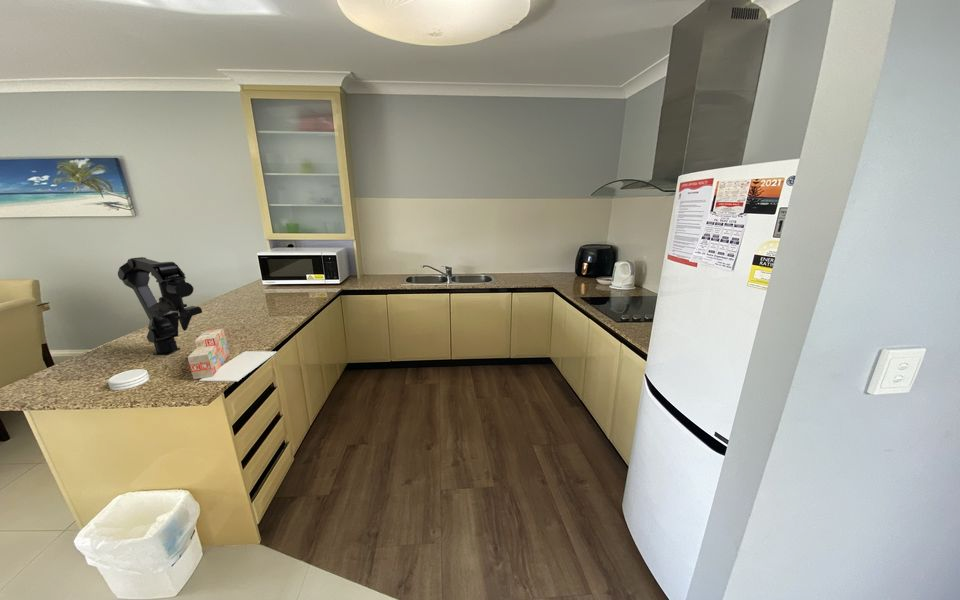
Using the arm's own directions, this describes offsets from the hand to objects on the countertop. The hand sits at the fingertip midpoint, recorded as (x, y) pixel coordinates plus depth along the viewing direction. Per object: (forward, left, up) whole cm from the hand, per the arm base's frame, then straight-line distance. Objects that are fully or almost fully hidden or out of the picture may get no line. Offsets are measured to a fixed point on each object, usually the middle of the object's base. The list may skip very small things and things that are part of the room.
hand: (180, 329), depth 133 cm
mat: (+26, -6, -13) cm, 30 cm away
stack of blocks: (+16, -7, -13) cm, 22 cm away
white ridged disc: (-4, -20, -14) cm, 24 cm away
